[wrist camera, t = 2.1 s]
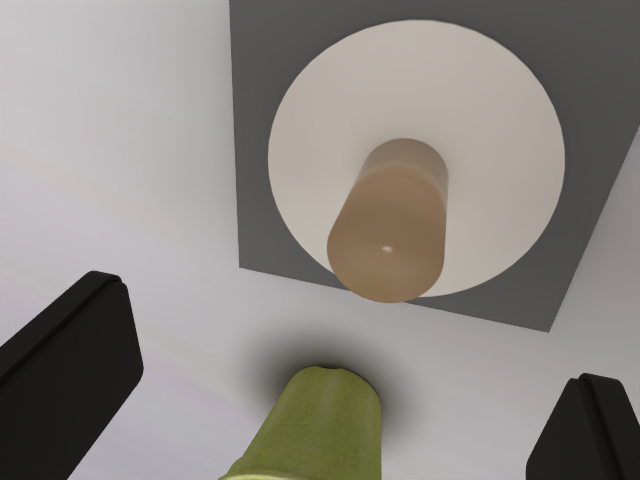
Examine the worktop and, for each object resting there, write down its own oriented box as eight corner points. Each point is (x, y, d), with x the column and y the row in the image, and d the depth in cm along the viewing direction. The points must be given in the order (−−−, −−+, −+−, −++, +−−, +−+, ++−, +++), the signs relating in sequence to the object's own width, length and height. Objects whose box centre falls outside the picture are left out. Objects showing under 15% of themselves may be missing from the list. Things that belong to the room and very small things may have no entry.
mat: (716, -66, 14) (723, -67, 14) (547, 327, 22) (548, 332, 22) (230, -92, 17) (225, -93, 17) (242, 263, 25) (239, 267, 25)
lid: (610, 35, 16) (700, 75, 10) (511, 307, 22) (529, 430, 16) (277, 4, 18) (187, 22, 12) (274, 258, 24) (215, 351, 18)
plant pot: (319, 315, 26) (265, 449, 19) (443, 410, 27) (437, 570, 20) (240, 387, 31) (172, 515, 24) (346, 464, 32) (314, 608, 25)
